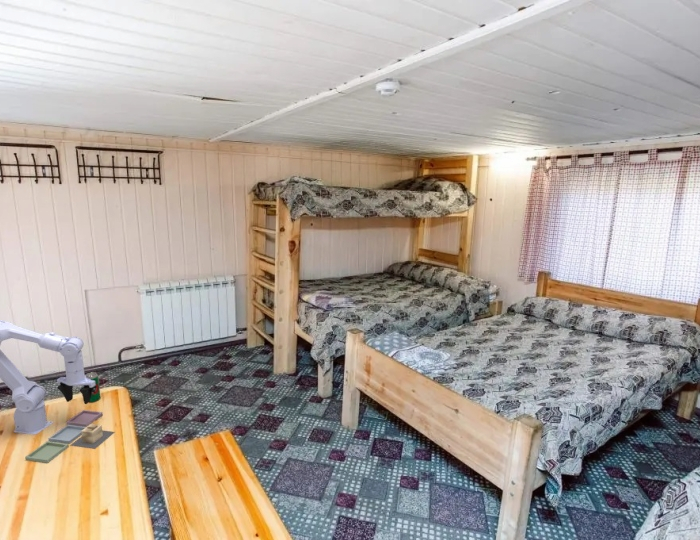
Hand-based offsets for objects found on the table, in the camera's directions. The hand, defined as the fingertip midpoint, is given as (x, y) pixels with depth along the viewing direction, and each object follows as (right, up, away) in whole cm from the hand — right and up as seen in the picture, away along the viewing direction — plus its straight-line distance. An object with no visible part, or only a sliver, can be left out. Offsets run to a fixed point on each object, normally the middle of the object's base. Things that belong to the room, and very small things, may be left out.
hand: (78, 401), depth 154 cm
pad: (+10, -12, -7) cm, 17 cm away
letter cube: (+10, -11, -8) cm, 17 cm away
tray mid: (+1, -11, -6) cm, 13 cm away
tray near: (0, -13, -16) cm, 21 cm away
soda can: (-6, -6, +19) cm, 20 cm away
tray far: (0, -9, +4) cm, 10 cm away
